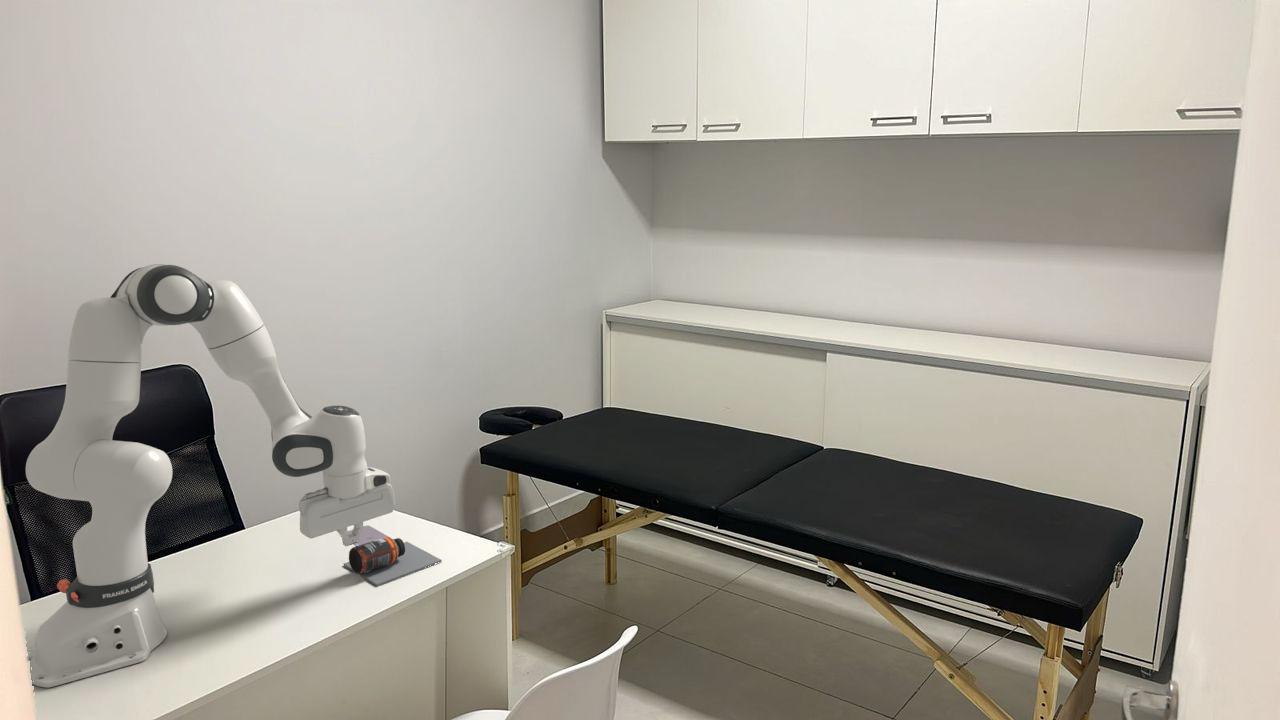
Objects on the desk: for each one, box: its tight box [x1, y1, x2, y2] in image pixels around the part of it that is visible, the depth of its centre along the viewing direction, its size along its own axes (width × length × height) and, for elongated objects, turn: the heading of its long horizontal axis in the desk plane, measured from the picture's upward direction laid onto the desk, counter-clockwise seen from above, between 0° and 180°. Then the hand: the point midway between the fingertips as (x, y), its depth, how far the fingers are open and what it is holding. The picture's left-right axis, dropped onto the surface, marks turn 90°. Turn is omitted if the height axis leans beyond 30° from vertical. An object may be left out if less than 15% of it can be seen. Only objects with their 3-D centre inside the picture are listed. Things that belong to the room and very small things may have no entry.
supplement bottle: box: [348, 536, 405, 575], centre depth 192 cm, size 6×6×11 cm
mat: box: [343, 541, 443, 587], centre depth 195 cm, size 16×14×1 cm
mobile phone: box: [345, 525, 391, 547], centre depth 207 cm, size 8×1×15 cm
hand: (351, 543), depth 187 cm, fingers closed
